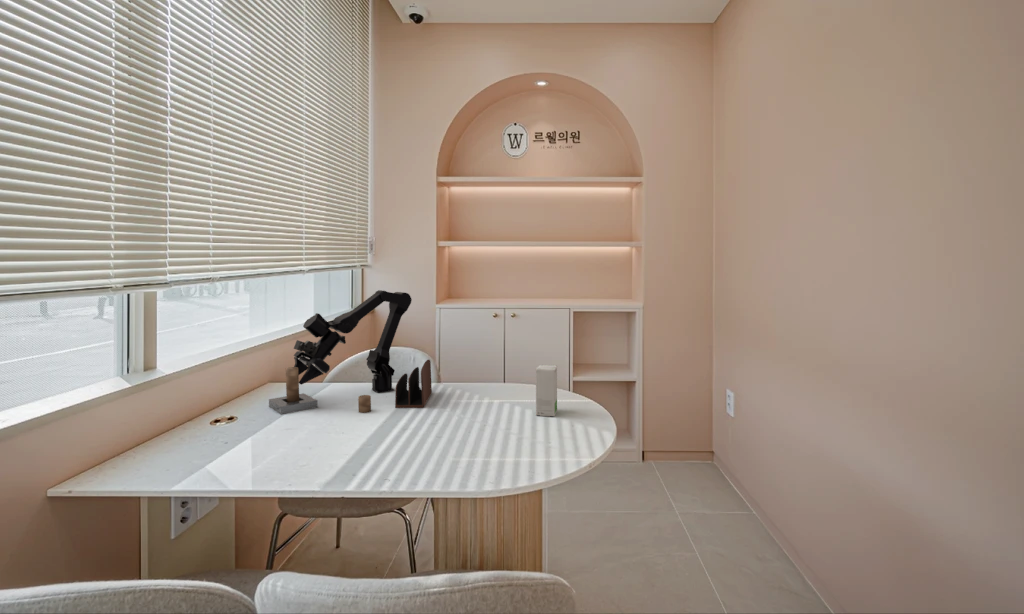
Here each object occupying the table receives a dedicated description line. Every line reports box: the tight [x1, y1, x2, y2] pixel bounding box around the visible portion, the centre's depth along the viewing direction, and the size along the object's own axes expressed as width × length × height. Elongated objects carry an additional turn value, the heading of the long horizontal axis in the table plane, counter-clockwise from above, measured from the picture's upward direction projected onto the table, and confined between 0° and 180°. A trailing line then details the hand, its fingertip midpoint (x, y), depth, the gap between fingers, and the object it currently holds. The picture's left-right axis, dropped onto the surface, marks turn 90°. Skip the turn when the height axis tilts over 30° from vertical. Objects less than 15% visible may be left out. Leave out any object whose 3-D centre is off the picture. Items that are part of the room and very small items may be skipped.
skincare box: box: [535, 364, 558, 417], centre depth 173 cm, size 8×7×16 cm
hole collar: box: [268, 392, 318, 415], centre depth 179 cm, size 12×12×2 cm
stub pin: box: [357, 394, 372, 414], centre depth 175 cm, size 4×4×5 cm
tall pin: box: [285, 366, 300, 403], centre depth 179 cm, size 4×4×14 cm
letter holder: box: [394, 359, 433, 409], centre depth 188 cm, size 10×20×14 cm, turn 1°
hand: (294, 381), depth 179 cm, fingers open, 9 cm apart
